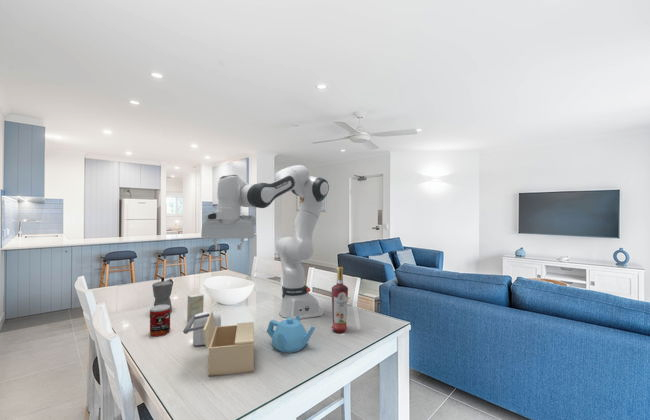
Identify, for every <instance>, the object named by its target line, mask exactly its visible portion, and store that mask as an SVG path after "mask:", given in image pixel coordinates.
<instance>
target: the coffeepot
mask: <svg viewBox="0 0 650 420" xmlns="http://www.w3.org/2000/svg"><path fill="white" fill-rule="evenodd" d="M173 285H174V280H173V279H172V278H170V279H167V280H165V277H160V281H157V282H154V283H152V285H151V286H152V292H153V293H152V294H153V297H154V303H153V307H154V306H157V305H170V314H171V313H172V312H173V307H172V306H173V305H172V302H171V301H172V300H171V294H172V290H173Z"/></svg>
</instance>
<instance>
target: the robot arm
mask: <svg viewBox="0 0 650 420" xmlns="http://www.w3.org/2000/svg"><path fill="white" fill-rule="evenodd" d="M273 179H274V180H273V181H272V182H270V183H268V182H259V183H250V184H249V183H248V182H246V181H244V179H243V180H242V178H240V176H239V175H237V174H229V175H222V176H220V178H219V180H218V184H217V193H216V195H217V196H216V197H217V201H218V203H217V208H216V209H217V210H216V211H212V212H210V213H206V214H205V216H204V219H205V220H204V221H203V223H202V226H201V232H200V233H201V234H200V237H201V238H202V239H204V240H206V239H208V240H209V239H210V240H211V239H212V243H213V245H214V246H215V251H220V250H221V247H220V246H221V245H220V244H218V243H217V241H218V240H219V239H221V240H222V239H225V240H226V239H240V243H239V244H237V248H236V250H239V251H240V250H241V251H242V245H243V243H244V242H245V239H253V238H255V235H256V234H255V226H256V220H257V219H256V218H255V217H254V216H253V215H245V214H244V215H242V214H241V207H242V208H258V209H265V208H268V207H269V206H270V205H271V204H272V203H273V202H274V201H275V200H276V199H277V198H278V197H280V196H282V195H285V193H287V192H292V194H294V195H295V196H297V197H303V199H304V200H303V202H302V204H301V205H300V208H299V210H298V212H297V215H296V216H295V219H294V221H293V227H294V232H293V236H284V237H283V236H282V237H281V238H278V240H277V241H276V244H275V249H276V252H277V253H278V255H279V260H280V263H281V267H282V269H281V270H282V286H281V298H282V299H281V306H280V311H279V316H281V317H283V318H286V319H287V318H293V319H294V320H295V318H296V316H300V320H302V319H309V318H315V317H321V316H324V309H323V308H322V307H320V304H319V301H318V299H317V298H316V296H314V295H313V294H311V293H309V292H311V288H310V287H308V285H306V284H305V277H306V276H305V273H306V272H305V268H304V267H303V265H302V263H301V261H308V260H310V259H311V258H312V256H313V255H314V251H315V249H314V245H313V234H314V230H315V228H316V226H317V222H318V219H319V217H320V215H321V212H322V207H323V201H324V199H325V198H326V197H327V195H328V193H329V190H330V186H329V185H330V184H329V182H328V180H326V179H325V178H323V177H317V176H312V175H310V172H309V169H308V168H307V167H306V166H304V165H302V164H295V165H289V166H287V167H285V168H282V169H280V170H278V171H277V172H276V173H275V174H274V178H273Z"/></svg>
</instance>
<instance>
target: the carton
mask: <svg viewBox="0 0 650 420" xmlns="http://www.w3.org/2000/svg"><path fill="white" fill-rule="evenodd" d="M254 365H255V323H254V322H253V321H252V322H251V321H250V322H248V321H247V322H237V324H232V325H221V326H218V327H215V330H214V334H213V337H212V340H211V343H210V345H209V348H208V377H217V376H225V375H233V374H241V373H250V372H251V373H252V372H255V369H254V368H255V367H254Z"/></svg>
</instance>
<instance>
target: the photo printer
mask: <svg viewBox="0 0 650 420" xmlns="http://www.w3.org/2000/svg"><path fill="white" fill-rule="evenodd" d="M210 312H211V311H203V313H199V314H196V315H195V317H196V316H200V315H205V314H210ZM213 317H214V323H215V327H218V326H222V325H221V324H222V319H221V313H219V312H215V311H213ZM207 319H208V317H204V318H200V319H196V320H194V322H193V324H192V326H193V327H197V326H202V325H205V324H206V322H207ZM193 327H192V328H193ZM203 329H204V328H203ZM203 329H199V330H194V331H192V345H193V346H194V347H195V346H197V347H198V346H206V343H205V338H204V332H203ZM214 330H215V329H214ZM213 334H214V332H213ZM212 337H213V335H212ZM211 340H212V338H211ZM210 343H211V342H210Z"/></svg>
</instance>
